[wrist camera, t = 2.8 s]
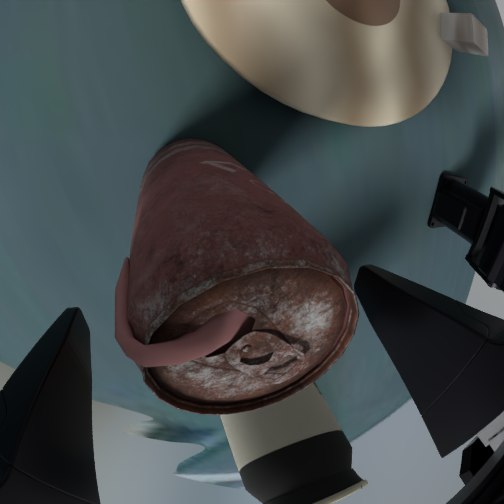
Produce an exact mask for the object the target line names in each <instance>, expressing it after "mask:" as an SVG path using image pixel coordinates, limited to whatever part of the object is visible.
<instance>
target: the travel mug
mask: <svg viewBox="0 0 504 504" xmlns="http://www.w3.org/2000/svg"><path fill="white" fill-rule="evenodd" d="M220 416H221V419H222V422H223V425H224V429H225V432H226V435H227V438H228V441H229V444H230V447H231V450H232V453H233V456H234V459H235V462H236V464H237V467H238V470H239V473H240V476H241V478H242V481H243V484H244V486H245V489H246V490H247V491H248V492H249V493H250V494H251V495H253V496H254V497H255V498H257V499H258V500H259V501H260V502H262V503H263V504H332V503H334V502H336V501H339V500H340V499H343V498H345V497H347V496H349V495H351V494H353V493H354V492H356V491H358V490H360V489H362V488H363V487H365V486H366V485H367V484H368V482H367V481H366V480H363V479H361V478H360V477H359V476H358V475H357V473H356V472H355V471H354V470H353V469H351V464H352V447H351V445H350V443H349V441H348V440H347V438H346V436H345V434H344V433H343V431H342V429H341V427H340V426H339V424H338V422H337V420H336V419H335V417H334V415H333V413H332V412H331V410H330V408H329V406H328V405H327V403H326V401H325V399H324V398H323V396H322V394H321V392H320V390H319V389H318V387H317V385H316V383H315V382H313V383H311V384H310V385H309V386H307V387H306V388H305V389H303V390H301V391H299V392H297V393H296V394H294V395H292V396H290V397H288V398H286V399H284V400H282V401H280V402H277V403H274V404H271V405H269V406H266V407H263V408H260V409H256V410H253V411H247V412H242V413H235V414H229V415H220Z"/></svg>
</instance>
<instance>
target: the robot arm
mask: <svg viewBox="0 0 504 504" xmlns="http://www.w3.org/2000/svg"><path fill="white" fill-rule="evenodd" d="M428 226H429V227H430V228H436V227H445V226H446V227H448V228H449V229H451V230H452V231H453V232H455V233H456V234H458V235H459V236H461V237H462V238H464V239H465V240H466V241H468V242H469V243H471V244H472V245H471V247H470V250H469V252H468V254H467V255H466V257H465V259H466V260H467V261H468V262H469V264H470V265H471V267H472V268H473V269H474V270H475V271H476V272H477V273H478V274H479V275H480V276H481V277H482V278H483V280H484V281H485V282H486V283H487V284H488V286H489V287H494V288H496V289H499V290H502V291H503V292H504V192H502V191H500V190H497V189H495V188H493V187H491V188H490V194H489V197H487V196H485V195H484V194H482V193H480V192H478V191H476V190H475V189H473V188H471V187H469V186H467V179H466V178H464V177H458V176H452V175H446V174H442V175H441V177H440V181H439V185H438V189H437V193H436V197H435V201H434V204H433V208H432V211H431V215H430V218H429V222H428ZM354 290H355V293H356V295H357V297H358V299H359V301H360V303H361V305H362V307H363V309H364V311H365V313H366V315H367V317H368V319H369V321H370V323H371V325H372V327H373V329H374V331H375V332H376V334H377V336H378V337H379V339H380V341H381V342H382V344H383V346H384V348H385V349H386V351H387V353H388V355H389V356H390V358H391V360H392V362H393V363H394V365H395V367H396V369H397V371H398V372H399V374H400V376H401V378H402V380H403V381H404V383H405V385H406V387H407V389H408V391H409V393H410V395H411V396H412V398H413V400H414V402H415V404H416V406H417V408H418V410H419V412H420V414H421V415H422V418H423V420H424V422H425V424H426V426H427V428H428V430H429V433H430V435H431V437H432V439H433V441H434V443H435V445H436V447H437V450H438V452H439V454H440V456H441V457H442V458H443V457H445V456H446V455H448V454H449V453H451V452H452V451H454V450H455V449H457V448H458V447H460V446H461V445H463V444H464V443H465V442H467V441H468V440H469V439H471V438H472V437H473V436H475V435H476V434H477V436H476V437H475V438H474V439H473V440H472V441H471V443H470V444H469V445H468V446H467V447H466V448H465V449H464V450H463V453H462V462H461V469H460V475H459V476H460V478H461V479H462V481H463V482H464V484H465V486H464V487H463V488H462V489H461V490H460V491H459V492H458V493H457V494H456V495H455V496H454V497H453V498H452V499H451V500H450V501H449V502H447V503H446V504H504V320H503V319H501V318H498V317H495V316H493V315H490V314H488V313H485V312H483V311H480V310H478V309H475V308H473V307H470V306H468V305H466V304H463V303H461V302H459V301H457V300H454V299H452V298H450V297H448V296H445V295H443V294H441V293H438V292H436V291H434V290H432V289H429V288H427V287H425V286H422V285H420V284H417V283H415V282H413V281H410V280H408V279H406V278H403V277H401V276H398V275H396V274H394V273H391V272H389V271H386V270H384V269H381V268H379V267H377V266H374V265H371V264H369V265H364V266H361V267H360V268H359V271H358V274H357V277H356V281H355V284H354ZM0 504H100V498H99V493H98V486H97V479H96V471H95V461H94V450H93V435H92V370H91V350H90V330H89V327H88V325H87V322H86V320H85V318H84V316H83V313H82V311H81V309H80V308H78V307H73V308H67V309H66V310H65V311H64V312H63V313H62V314H61V315H60V316H59V317H58V318H57V320H56V321H55V322H54V323H53V324H52V325H51V326H50V328H49V329H48V330H47V331H46V332H45V334H44V335H43V336H42V337H41V338H40V340H39V341H38V342H37V343H36V344H35V346H34V347H33V348H32V349H31V351H30V352H29V353H28V354H27V356H26V357H25V358H24V360H23V361H22V362H21V363H20V365H19V366H18V367H17V369H16V370H15V371H14V373H13V374H12V376H11V377H10V378H9V380H8V381H7V382H6V384H5V385H4V387H3V390H1V391H0Z"/></svg>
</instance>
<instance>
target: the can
mask: <svg viewBox="0 0 504 504" xmlns="http://www.w3.org/2000/svg"><path fill="white" fill-rule="evenodd" d="M358 317H359V309H358V303H357V298H356V293H355V292H354V291H353V289H352V284H351V279H350V275H349V271H348V266H347V262H346V261H345V260H344V259H343V257H342V256H341V255H340V254H339V253H338V251H337V250H336V249H335V248H334V247H333V246H332V244H331V243H330V242H329V241H328V240H327V239H326V238H325V237H324V236H323V235H322V234H321V233H319V232H318V231H317V230H316V229H315V228H314V227H313V226H312V225H311V224H310V223H309V222H307V221H306V220H305V219H304V218H303V217H302V216H301V215H300V214H299V213H298V212H296V211H295V210H294V209H293V208H292V207H291V206H290V205H289V204H287V203H286V202H285V201H284V200H283V199H282V198H281V197H279V196H278V195H277V194H276V193H275V192H274V191H272V190H271V189H270V188H269V187H268V186H267V185H265V184H264V183H263V182H262V181H261V180H260V179H258V178H257V177H256V176H255V175H254V174H252V173H251V172H250V171H249V170H248V169H246V168H245V167H244V166H243V165H242V164H240V163H239V162H238V161H237V160H235V159H234V158H233V157H232V156H231V155H229V154H228V153H227V152H226V151H224V150H223V149H222V148H221V147H219V146H218V145H216V144H213V143H211V142H209V141H207V140H204V139H193V138H187V139H183V140H179V141H174V142H172V143H170V144H169V145H167V146H165V147H164V148H162V149H160V150H159V151H158V152H157V154H156V155H155V156H154V157H153V158H152V159H151V160H150V162H149V164H148V166H147V168H146V171H145V173H144V176H143V180H142V185H141V190H140V195H139V200H138V205H137V211H136V217H135V223H134V229H133V236H132V243H131V251H130V259H129V258H128V257H126V258H125V261H124V264H123V267H122V270H121V273H120V276H119V279H118V282H117V286H116V289H115V338H116V340H117V342H118V343H119V345H120V346H121V348H122V350H123V351H124V353H125V354H126V356H128V357H129V358H131V359H132V360H133V361H134V362H135V363H136V365H137V366H138V368H139V369H140V371H141V372H142V374H143V380H144V382H145V383H146V385H147V386H148V387H149V388H150V390H151V391H152V392H153V393H154V395H155V396H156V397H157V398H158V399H160V400H162V401H164V402H165V403H167V404H169V405H171V406H173V407H175V408H177V409H180V410H184V411H188V412H192V413H197V414H204V415H229V414H235V413H242V412H247V411H253V410H256V409H260V408H263V407H266V406H269V405H271V404H274V403H277V402H280V401H282V400H284V399H286V398H288V397H290V396H292V395H294V394H296V393H297V392H299V391H301V390H303V389H305V388H306V387H307V386H309V385H310V384H311V383H313V382H314V381H315V380H317V379H318V378H319V377H321V376H322V375H323V374H325V373H326V372H327V371H328V370H329V369H330V368H331V366H332V365H333V364H334V363H335V362H336V361H337V360H338V359H339V358H340V357H341V356H342V354H343V353H344V351H345V349H346V348H347V346H348V344H349V343H350V341H351V339H352V337H353V336H354V334H355V329H356V325H357V321H358Z"/></svg>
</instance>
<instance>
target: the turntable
mask: <svg viewBox="0 0 504 504" xmlns="http://www.w3.org/2000/svg"><path fill="white" fill-rule="evenodd" d="M181 2H182V5H183V7H184V9H185V11H186V13H187V14H188V16H189V18H190V20H191V22H192V24H193V25H194V27H195V28H196V29H197V31H198V32H199V33H200V35H201V36H202V38H203V39H204V40H205V42H206V43H207V44H208V45H209V46H210V47H211V48H212V49H213V51H214V52H215V53H216V54H217V55H218V56H219V57H220V58H221V59H222V60H223V61H224V62H225V63H226V64H227V65H228V66H230V67H231V68H232V69H233V70H234V71H235V72H236V73H237V74H239V75H240V76H241V77H242V78H244V79H245V80H246V81H248V82H249V83H251V84H252V85H253V86H255V87H256V88H257V89H259V90H260V91H262V92H263V93H265V94H267V95H269V96H270V97H272V98H274V99H275V100H277V101H279V102H281V103H283V104H285V105H287V106H289V107H291V108H294V109H296V110H298V111H300V112H303V113H306V114H309V115H312V116H315V117H318V118H321V119H326V120H330V121H335V122H339V123H344V124H348V125H354V126H366V127H373V126H386V125H390V124H394V123H399V122H401V121H403V120H406V119H408V118H411V117H412V116H414V115H415V114H417V113H418V112H420V111H421V110H422V109H424V108H425V107H426V106H427V105H428V104H429V103H430V102H431V101H432V100H433V98H434V97H435V96H436V95H437V93H438V92H439V90H440V88H441V86H442V85H443V83H444V80H445V78H446V76H447V73H448V70H449V66H450V62H451V56H452V48H453V49H455V50H456V51H457V52H461V53H469V54H476V55H482V56H488V38H487V29H486V28H485V27H484V26H483V25H482V23H481V22H480V21H479V20H478V19H477V18H476V17H475V16H474V15H473V14H472V13H450V12H449V7H448V4H447V1H446V0H181Z"/></svg>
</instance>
